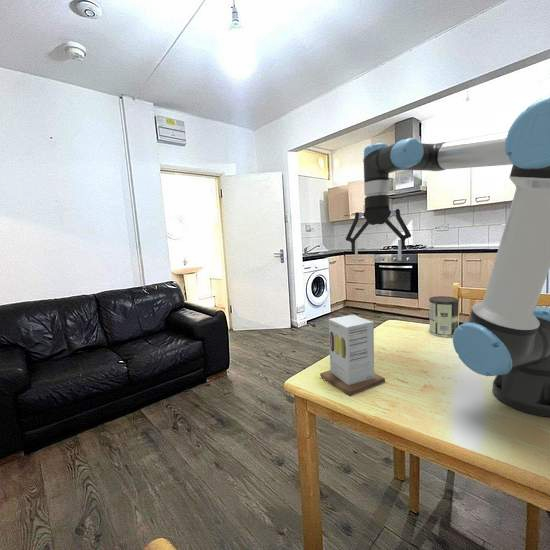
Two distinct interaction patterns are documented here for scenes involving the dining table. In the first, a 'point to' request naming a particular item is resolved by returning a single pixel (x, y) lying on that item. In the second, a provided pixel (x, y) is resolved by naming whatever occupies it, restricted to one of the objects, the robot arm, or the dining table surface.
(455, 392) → the dining table surface
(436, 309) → the coffee can
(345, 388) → the walnut board
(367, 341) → the supplement box
